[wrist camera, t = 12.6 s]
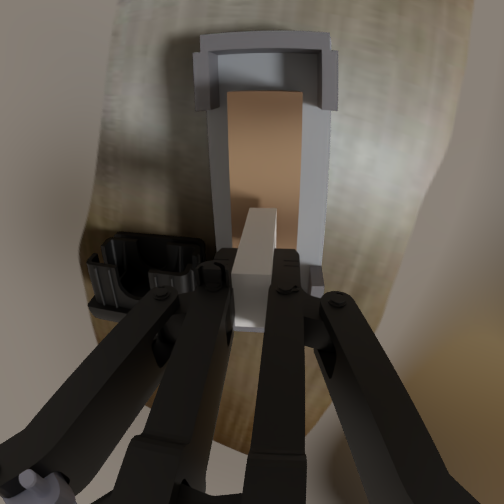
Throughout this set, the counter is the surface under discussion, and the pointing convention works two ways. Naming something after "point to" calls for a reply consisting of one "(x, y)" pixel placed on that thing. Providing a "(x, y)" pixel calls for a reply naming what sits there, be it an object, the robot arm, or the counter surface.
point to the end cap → (140, 270)
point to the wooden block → (265, 159)
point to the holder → (313, 123)
